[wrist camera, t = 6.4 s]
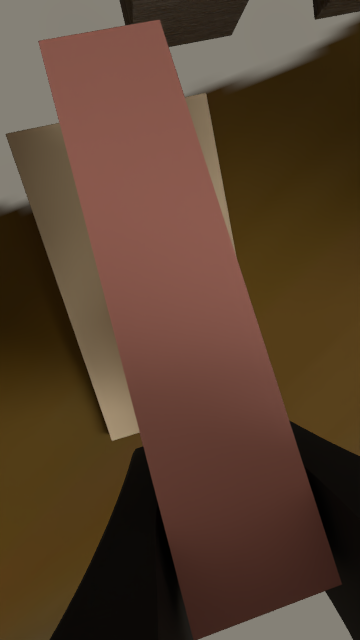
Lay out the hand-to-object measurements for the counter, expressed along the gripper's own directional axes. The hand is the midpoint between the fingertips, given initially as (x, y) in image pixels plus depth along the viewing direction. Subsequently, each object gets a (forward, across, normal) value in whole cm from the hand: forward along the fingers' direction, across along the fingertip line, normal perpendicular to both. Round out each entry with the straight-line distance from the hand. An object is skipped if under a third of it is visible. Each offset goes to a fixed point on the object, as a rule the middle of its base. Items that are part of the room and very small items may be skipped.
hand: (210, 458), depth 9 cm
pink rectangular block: (+3, 0, -3) cm, 5 cm away
